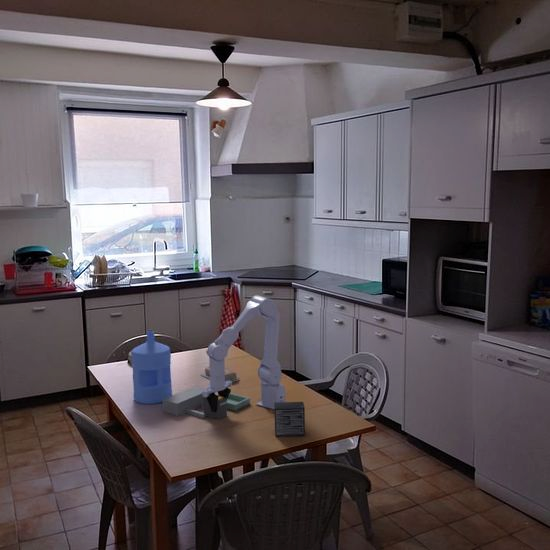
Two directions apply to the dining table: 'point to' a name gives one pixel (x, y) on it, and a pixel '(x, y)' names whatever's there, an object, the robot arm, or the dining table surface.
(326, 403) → the dining table surface
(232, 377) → the packaged product
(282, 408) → the small box
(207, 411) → the grey block orange panel
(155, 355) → the water jug
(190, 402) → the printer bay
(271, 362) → the robot arm
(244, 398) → the tray
